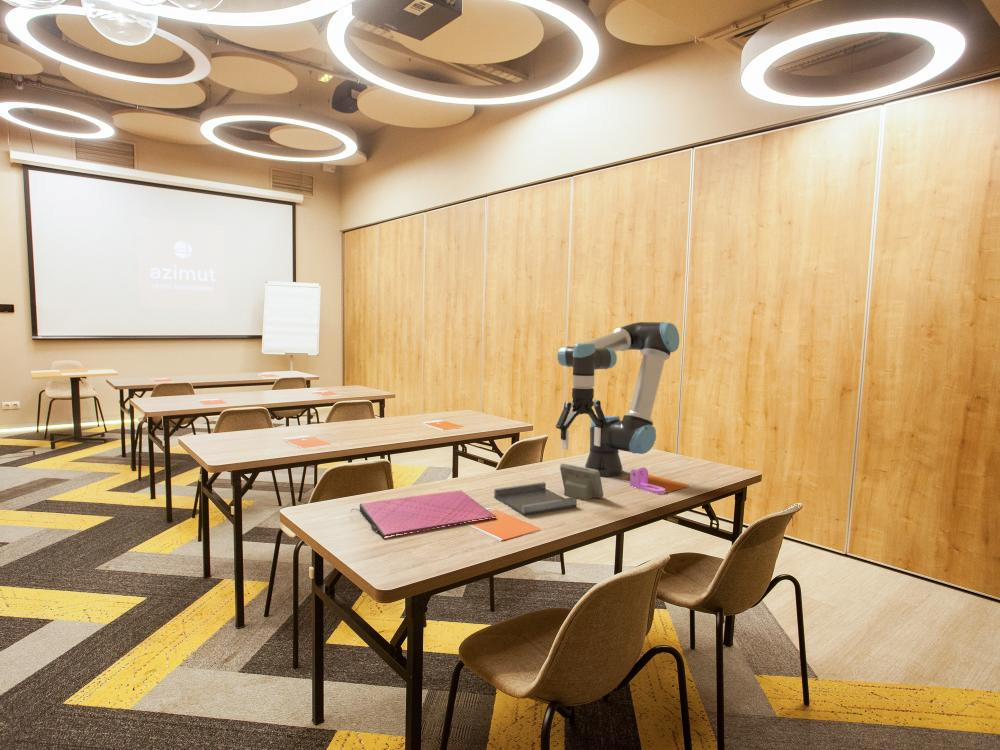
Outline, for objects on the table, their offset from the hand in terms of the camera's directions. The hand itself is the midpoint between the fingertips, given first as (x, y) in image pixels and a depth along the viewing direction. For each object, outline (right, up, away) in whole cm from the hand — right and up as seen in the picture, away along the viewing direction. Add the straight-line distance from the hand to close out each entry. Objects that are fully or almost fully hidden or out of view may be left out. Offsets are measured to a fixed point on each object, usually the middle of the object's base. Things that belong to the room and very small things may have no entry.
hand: (581, 447), depth 199 cm
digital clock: (0, -17, +2) cm, 18 cm away
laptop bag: (-54, -20, -21) cm, 61 cm away
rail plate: (-17, -18, -7) cm, 25 cm away
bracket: (+26, -17, +10) cm, 33 cm away
